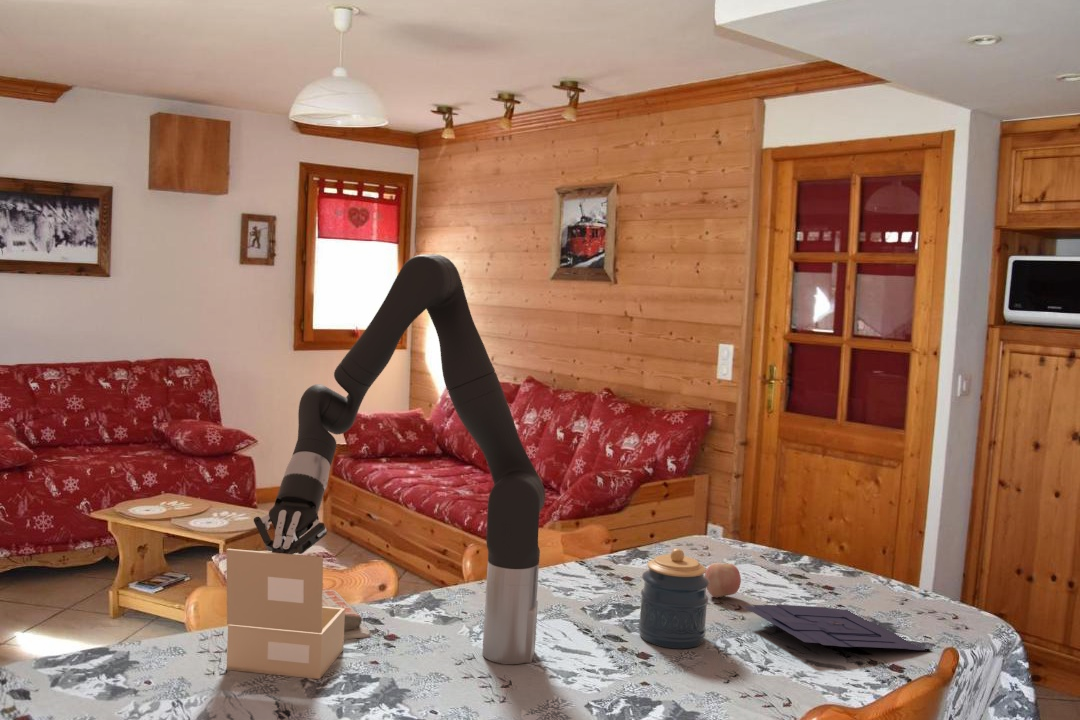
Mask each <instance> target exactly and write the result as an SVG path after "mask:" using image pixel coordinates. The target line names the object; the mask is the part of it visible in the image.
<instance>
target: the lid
mask: <svg viewBox="0 0 1080 720" xmlns="http://www.w3.org/2000/svg"><path fill="white" fill-rule="evenodd" d="M323 568H324V557H323V556H315V555H304V554H296V553H295V554H283V553H272V551H260V550H251V549H250V550H248V549H247V550H246V549H237V548H235V549H234V548H227V549H226V625H229V624H230V625H240V626H251V627H261V628H271V629H282V630H292V631H302V632H313V633H322V592H323V589H324V587H323V585H324V584H323V582H324V580H323V577H324V574H323V573H324V571H323V570H324V569H323Z"/></svg>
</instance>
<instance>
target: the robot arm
mask: <svg viewBox="0 0 1080 720" xmlns="http://www.w3.org/2000/svg"><path fill="white" fill-rule="evenodd" d="M457 268H458V267H456V265H455V264H454V263H453V261H451V260H450V259H449V258H448V257H446V256H443V255H440V254H418V255H415V256H413V257H411V258H409V259H408V260H407V261H406V262H405V263H404V264H403V265H402V266H401V269H400V270H399V272H398V273H397V276H396V277H395V279H394V281H393V283H392V285H391V287H390V289H389V290H388V292H387V295H386V296H385V298H384V300H383V302H382V304H381V305H380V307H379V309H378V310H377V312H376V313H375V314H374V316H373V318H372V320H371V321H370V323H369V324H368V325H367V327H366V328H365V330H364V331H363V332H362V334H361V335H360V336H359V338H357V340H356V342H355V343H354V344H353V345H352V347H350V349H349V351H348V352H347V353H346V354H345V355H344V357H343V359H341V361H340V362H339V363H338V365H337V366H336V368H335V369H334V372H333V377H334V380H335V381H336V383H337V385H339V386H340V387H341V388H342V390H344V391H345V392H346V393H347V396H344V395H342V394H340V393H339V392H336V391H335V390H333V389H331V388H329V387H328V386H326V385H324V384H313V385H311V386H309V387H308V388H307V389H306V390H305V391H304V392H303V394H302V395H301V398H300V400H299V405H298V413H297V414H298V416H297V417H298V426H297V427H298V428H297V430H298V433H297V440H296V443H295V447H294V449H293V453H292V456H291V458H290V460H289V461H288V464H287V466H286V467H285V471H284V473H283V477H282V480H281V483H280V486H279V489H278V493H277V495H276V497H275V501H274V505H273V506H272V507H271V509H270V510H269V511H268V514H267V515H265V516H263V517H260V516H255V517H254V518H253V523H254V525H255V527H256V529H257V531H258V533H259V535H260V537H261V539H262V541H263V543H264V545H265V547H266V550H267V552H272V553H283V554H295V555H296V554H297V555H303V554H305V552H307V551H308V550H309V549H310V548H311V547H312V546H314V545H316V543H318V542H319V541H321V540H322V539H323V538H324V537H325V536H326V535H327V534H328V531H327V527H326V526H325V523H323V522H320V521H319V519H320V518H319V515H318V514H319V511H320V507H321V505H322V502H323V498H324V494H325V491H326V489H327V487H328V481H329V476H330V470H331V467H332V463H333V460H334V457H335V454H336V451H337V440H336V438H335V437H334V436H333V435H342V434H344V433H346V432H348V431H349V430H350V429H352V426H353V425H354V422H355V421H356V419H357V415H358V412H359V410H360V407H361V404H362V402H363V400H364V398H365V396H366V394H367V392H368V391H369V389H370V388H371V386H372V385H373V384H374V382H375V381H376V380H377V379H378V377H379V376H380V375H381V374H382V372H383V371H384V370H385V368H386V367H387V365H388V364H389V362H390V361H391V359H392V357H393V355H394V353H395V351H396V348H397V347H398V344H399V343H400V341H401V338H402V337H403V335H404V334H405V332H406V331H407V330H408V328H409V327H410V325H411V324H412V323H413V322H414V321H415V320H416V319H417V318H418V317H419V316H421V314H422V313H423V312H425V311H427V313H428V315H429V318H430V320H431V322H432V323H433V326H434V329H435V331H436V335H437V338H438V343H439V350H440V351H439V352H440V362H441V369H442V377H443V381H444V384H445V387H446V390H447V393H448V395H449V398H450V399H451V403H452V405H453V408H454V410H455V412H456V413H457V416H458V419H460V422H461V423H462V425H463V426H464V427H465V428H466V430H467V432H468V434H470V436H471V437H472V438H473V440H474V441H475V443H476V444H477V445H478V447H479V449H480V450H481V452H482V453H483V456H484V458H485V460H486V463H487V466H488V469H489V472H490V474H491V479H492V482H493V487H492V489H491V490H490V493H489V495H488V496H489V497H488V501H487V513H486V549H487V569H486V571H487V572H486V584H485V585H486V586H485V604H484V620H483V638H482V655H483V657H484V658H485V659H486V660H489V661H491V662H494V663H496V664H502V665H516V664H517V665H519V664H524V663H527V664H531V663H532V662H533V658H534V655H535V651H536V639H537V636H536V635H537V623H538V622H537V620H538V605H539V602H538V600H537V599H538V585H539V572H540V571H539V568H540V555H541V554H540V553H541V552H540V551H541V550H540V547H539V528H540V525H539V524H540V512H541V511H542V509H543V507H544V506H545V503H546V491H545V487H544V484H543V482H542V480H541V478H540V476H539V474H538V472H537V471H536V469H535V466H534V465H533V463H532V461H531V459H530V457H529V455H528V453H527V452H526V450H525V447H524V445H523V443H522V441H521V438H520V436H519V433H518V430H517V427H516V424H515V421H514V418H513V415H512V412H511V410H510V407H509V403H508V401H507V398H506V396H505V394H504V390H503V387H502V384H501V383H500V380H499V377H498V375H497V373H496V370H495V368H494V365H493V363H492V361H491V359H490V357H489V354H488V351H487V349H486V347H485V344H484V343H483V340H482V338H481V336H480V333H479V331H478V328H477V327H476V324H475V322H474V319H473V316H472V314H471V310H470V307H469V303H468V300H467V296H466V293H465V289H464V286H463V283H462V279H461V276H460V273H459V270H458V269H457ZM332 434H333V435H332ZM270 524H272V526H273V529H274V539H271V537H270V534H269V533H268V530H269V529H270Z"/></svg>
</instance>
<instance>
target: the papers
mask: <svg viewBox="0 0 1080 720" xmlns="http://www.w3.org/2000/svg"><path fill="white" fill-rule="evenodd" d="M741 607H743V608H744V609H746V610H748V611H750V612H752V613H753V614H755V615H756V616H758V617H760V618H762V619H764V620H766V621H767V622H769V623H770V624H772V625H774V626H776V627H778V628H780V629H781V630H783V631H785V632H786V633H788V634H789V635H792V636H794V637H795V638H797V639H798V640H800V641H802V642H804V643H810V644H811V643H814V644H821V645H822V646H835V647H843V648H844V647H845V648H856V647H858V648H880V649H881V648H883V649H903V650H904V649H905V650H913V651H926V650H925V649H923V648H921V647H918V646H916V645H914V644H911V642H908V641H906V640H904V639H902V638H901V637H899V636H897V635H896V634H894V633H892V632H890V631H889V630H890V629H888V628H887V627H885V628H883V627H884V626H883V627H882V625H881V626H879V625H880V624H879V625H877V624H878V623H877V624H875V623H876V622H875V623H872V622H869V621H867V620H864V619H863V618H861V617H858V616H857V615H855V614H853V613H851V612H850V611H848V610H849V609H839V608H833V607H828V606H827V607H826V606H809V605H795V604H794V605H793V604H792V605H791V604H778V603H777V604H752V606H751V605H750V606H748V605H742V606H741ZM887 629H888V630H887Z"/></svg>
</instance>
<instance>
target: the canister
mask: <svg viewBox="0 0 1080 720" xmlns="http://www.w3.org/2000/svg"><path fill="white" fill-rule="evenodd" d="M647 567H648V569H647V570H645V571H644V572H643V573H642V575H641V576H642V577H641V578H642V580H643V581H644V584H643V587H642V589H641V590H640V594H641V599H640V601H641V602H640V603H641V604H640V616H639V621H638V629H639V636H640V638H642V640H644V641H646V642H647V643H650V644H652V645H655V646H659V647H664V648H668V649H669V648H671V649H691V648H695V647H699V646H701V645H702V644H703V643H704V640H705V636H706V630H707V629H706V619H707V618H706V617H707V606H708V602H709V597H708V595H707V588H706V587H707V586H708V585H709V580H708V579H707V578H706V577H705V572H706V570H707V568H706V567H705V566H704V565H703V564H701V563H700V562H699V561H698V560H697V559H695V558H692V557H690V556H687V555H685V553H684V550H682V549H681V548H674V549H672V550H671V552H670V554H661V555H658V556H656V557H654V559H651V560H649V561H647Z"/></svg>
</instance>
